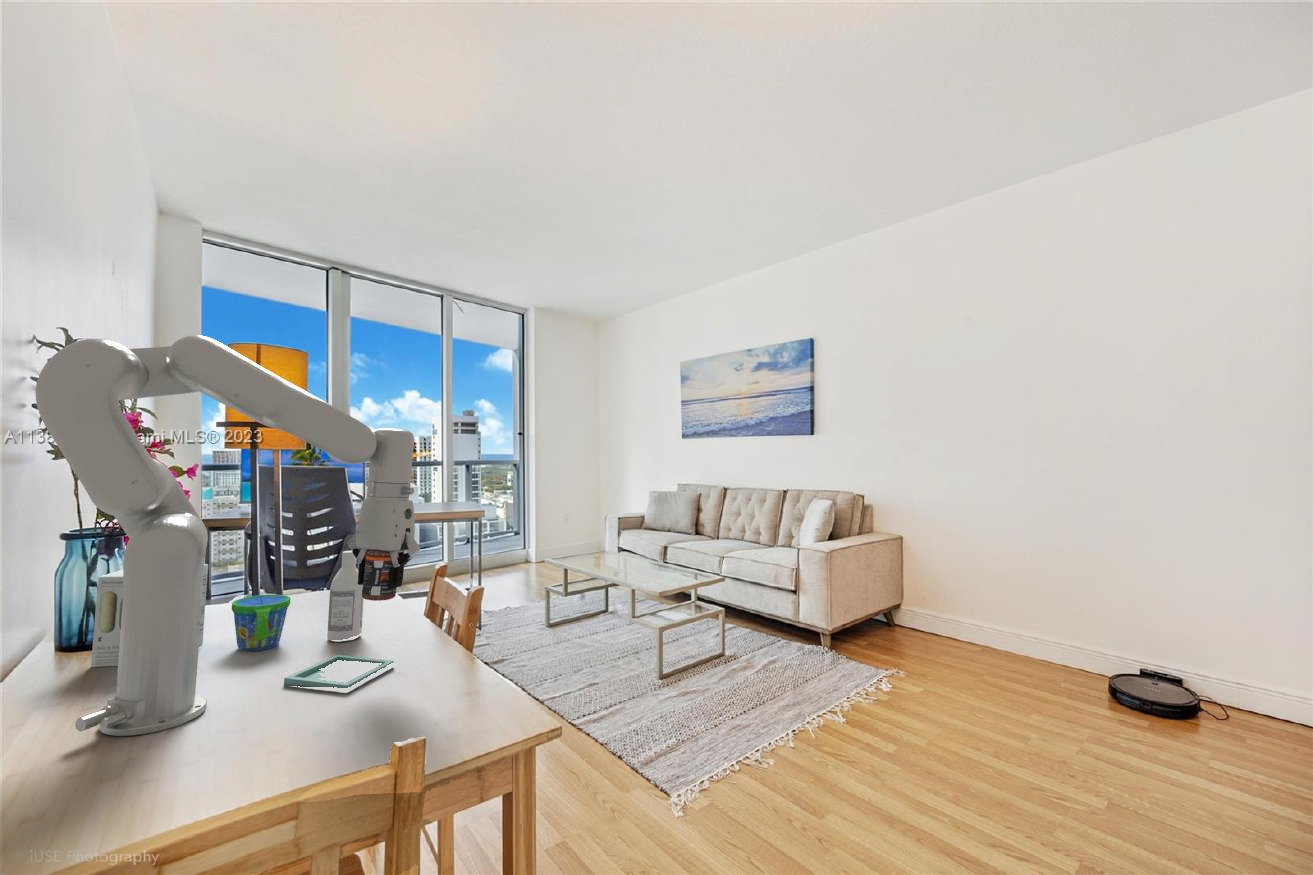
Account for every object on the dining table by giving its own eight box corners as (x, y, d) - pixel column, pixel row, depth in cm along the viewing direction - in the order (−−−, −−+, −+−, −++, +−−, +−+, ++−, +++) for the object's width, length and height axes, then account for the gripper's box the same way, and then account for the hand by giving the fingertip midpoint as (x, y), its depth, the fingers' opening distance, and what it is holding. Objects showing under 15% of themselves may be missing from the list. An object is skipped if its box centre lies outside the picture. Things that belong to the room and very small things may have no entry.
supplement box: (87, 668, 107) (95, 576, 108) (131, 646, 120) (137, 564, 121) (170, 664, 111) (176, 575, 112) (204, 643, 124) (210, 563, 124)
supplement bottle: (381, 603, 104) (387, 541, 105) (354, 599, 106) (360, 539, 106) (402, 596, 110) (407, 538, 111) (376, 593, 111) (382, 536, 112)
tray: (346, 694, 99) (346, 685, 100) (283, 686, 102) (284, 678, 102) (393, 668, 112) (393, 660, 112) (336, 662, 115) (337, 654, 115)
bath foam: (346, 632, 134) (351, 548, 135) (368, 636, 132) (373, 550, 133) (319, 640, 128) (325, 552, 129) (342, 644, 125) (347, 554, 126)
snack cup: (286, 654, 118) (289, 605, 119) (223, 661, 113) (227, 610, 113) (289, 633, 132) (291, 590, 132) (233, 639, 126) (236, 594, 127)
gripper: (439, 494, 111) (431, 586, 110) (364, 489, 115) (355, 577, 113) (415, 495, 104) (406, 593, 103) (336, 489, 107) (326, 584, 106)
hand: (379, 584), depth 108 cm, fingers closed on supplement bottle, 6 cm apart
